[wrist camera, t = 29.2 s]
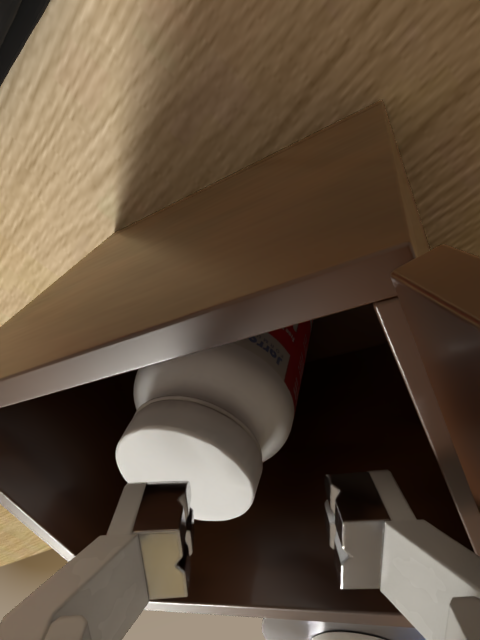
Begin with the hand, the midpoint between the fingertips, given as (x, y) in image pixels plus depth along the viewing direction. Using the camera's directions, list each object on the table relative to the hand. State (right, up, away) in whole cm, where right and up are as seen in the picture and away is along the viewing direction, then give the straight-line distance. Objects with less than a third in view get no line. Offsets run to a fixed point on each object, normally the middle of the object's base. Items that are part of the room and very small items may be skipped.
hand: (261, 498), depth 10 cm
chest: (+1, +6, +12) cm, 13 cm away
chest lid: (+5, -3, -10) cm, 11 cm away
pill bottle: (0, +6, +12) cm, 13 cm away
